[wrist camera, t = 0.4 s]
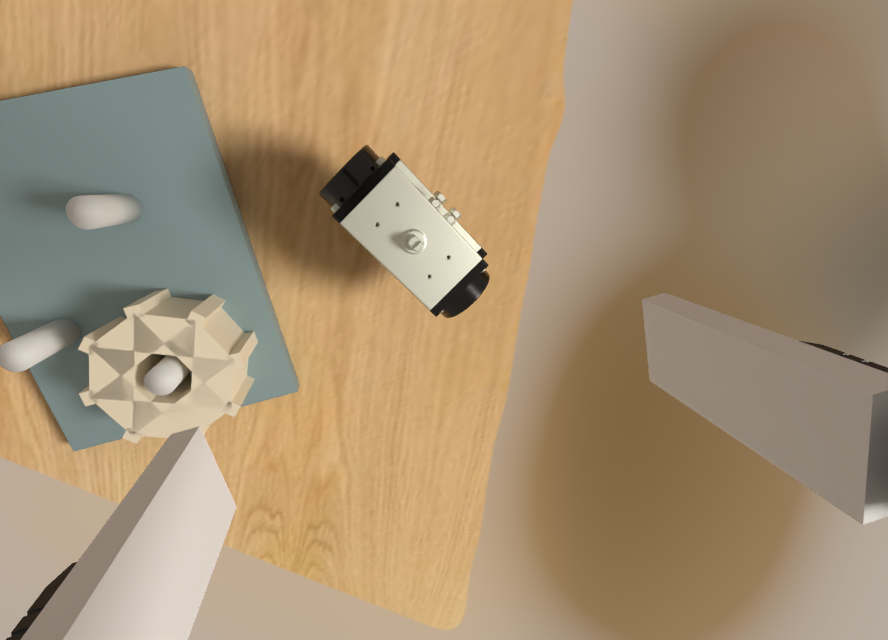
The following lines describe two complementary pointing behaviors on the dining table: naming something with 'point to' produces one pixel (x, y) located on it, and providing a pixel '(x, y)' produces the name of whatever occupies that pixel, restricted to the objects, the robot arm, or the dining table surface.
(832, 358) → the robot arm
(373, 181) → the pneumatic valve
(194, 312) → the gear board
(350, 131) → the dining table surface
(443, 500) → the dining table surface
